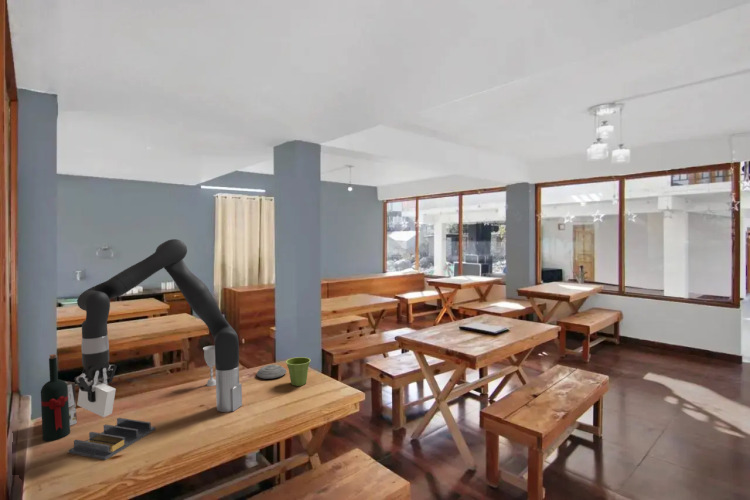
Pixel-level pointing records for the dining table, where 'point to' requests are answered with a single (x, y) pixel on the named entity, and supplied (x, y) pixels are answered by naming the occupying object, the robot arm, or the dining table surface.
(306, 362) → the plant pot
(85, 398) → the panel
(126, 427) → the rack
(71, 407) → the coffee box
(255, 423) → the dining table surface
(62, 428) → the wine bottle
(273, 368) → the grey stone
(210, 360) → the chalice
